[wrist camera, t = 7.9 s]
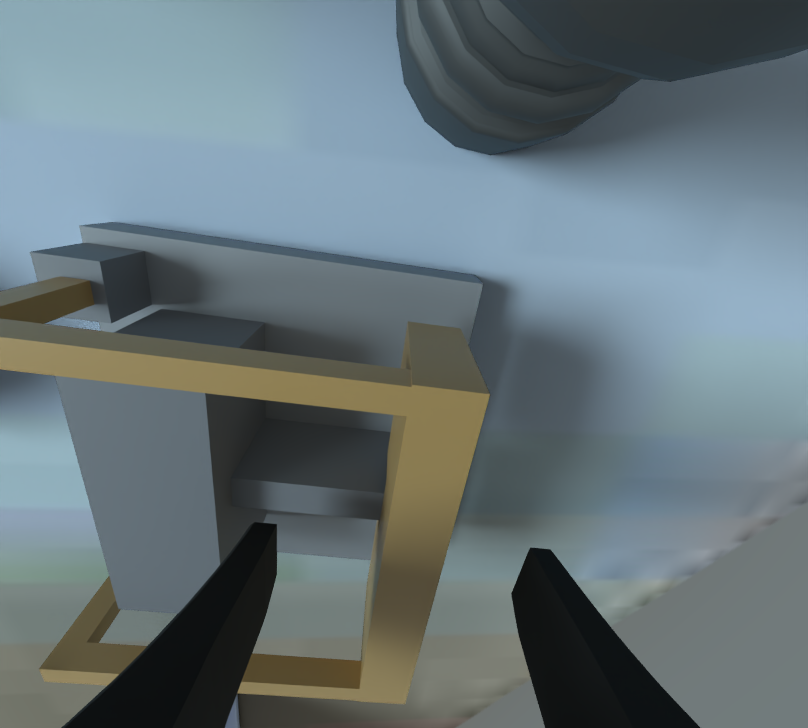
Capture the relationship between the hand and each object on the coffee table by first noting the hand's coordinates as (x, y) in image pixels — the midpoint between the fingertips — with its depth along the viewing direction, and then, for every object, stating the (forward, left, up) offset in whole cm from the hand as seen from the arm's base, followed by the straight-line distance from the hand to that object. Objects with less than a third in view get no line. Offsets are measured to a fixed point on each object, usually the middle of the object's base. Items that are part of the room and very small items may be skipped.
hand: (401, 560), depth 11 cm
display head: (0, +5, -7) cm, 8 cm away
